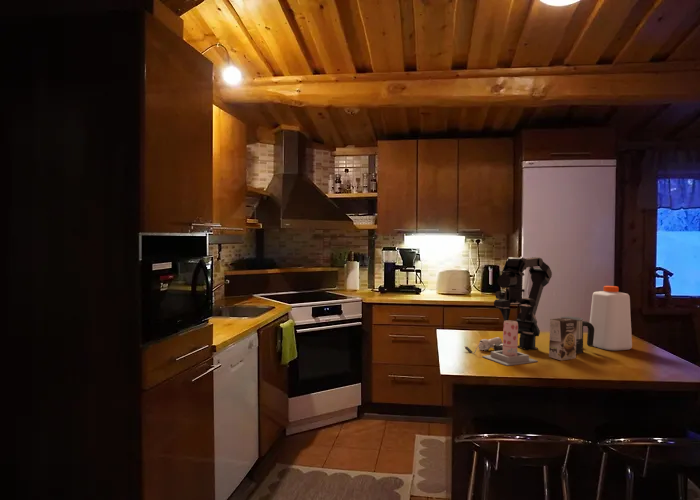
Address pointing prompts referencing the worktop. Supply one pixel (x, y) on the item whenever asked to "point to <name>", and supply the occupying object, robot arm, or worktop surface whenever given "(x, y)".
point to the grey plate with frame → (509, 358)
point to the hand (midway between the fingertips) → (514, 322)
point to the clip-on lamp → (489, 345)
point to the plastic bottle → (611, 319)
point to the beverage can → (510, 338)
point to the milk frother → (580, 333)
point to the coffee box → (562, 338)
